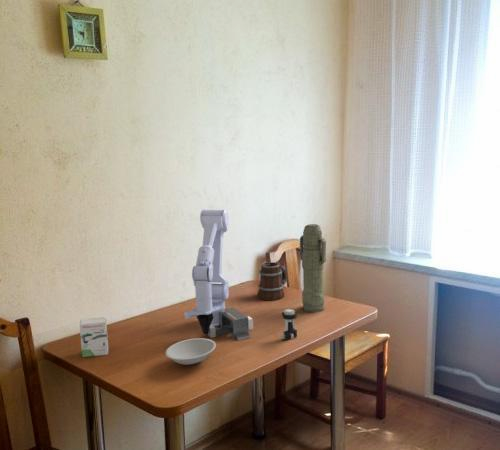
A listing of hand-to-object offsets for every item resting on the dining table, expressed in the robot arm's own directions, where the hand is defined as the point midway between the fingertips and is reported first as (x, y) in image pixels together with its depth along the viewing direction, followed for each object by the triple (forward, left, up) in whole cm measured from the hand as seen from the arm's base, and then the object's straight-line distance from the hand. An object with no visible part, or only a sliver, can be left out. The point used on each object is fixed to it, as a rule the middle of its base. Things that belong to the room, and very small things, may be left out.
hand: (205, 333), depth 186 cm
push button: (+16, +25, -1) cm, 30 cm away
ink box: (-6, -38, -1) cm, 38 cm away
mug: (-30, +45, -1) cm, 54 cm away
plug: (0, +10, -1) cm, 10 cm away
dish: (+18, -12, -1) cm, 22 cm away
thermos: (-6, +50, -1) cm, 51 cm away
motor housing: (0, +11, -1) cm, 11 cm away
